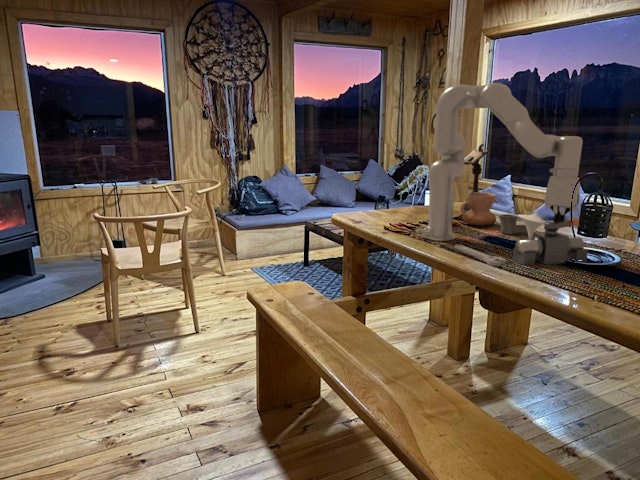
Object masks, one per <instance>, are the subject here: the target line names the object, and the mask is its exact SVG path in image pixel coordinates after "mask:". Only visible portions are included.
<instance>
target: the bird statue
mask: <svg viewBox="0 0 640 480" xmlns="http://www.w3.org/2000/svg"><path fill="white" fill-rule="evenodd" d="M484 145H485V144H484V143H480V144H479V146H478V149H473V150H472V151H471V152H470V153H469V154H468V155H467V156H466V157H465V159H464V165H468V166H469V165H470V164H471V167H472V168H471V170H472V172H471V174H472V175H473V182H472V184H473V186H472V187H473V188H472V190H471V191H470V193H476V192H480V191H479V188H478V187H479V184H480V182H479V180H480V179H479V176H480V175H481V174H482V170H483V168H482V165H481V163H480V160H481V159H482V158H483V157H484V156H486V155H487V154H488V153H489V150H486V149H485V150H484V148H483V147H484ZM466 201H468V200H467V199H466ZM470 210H471V209H470V206H469V205H468V204H465V206H464V212H465V213H467V212H468V211H470Z"/></svg>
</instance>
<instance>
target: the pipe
mask: <svg viewBox="0 0 640 480" xmlns="http://www.w3.org/2000/svg"><path fill="white" fill-rule="evenodd" d="M498 218H499V221H500V233H501V234H503V235H507V236H508V235H528V231H527V228H526V225H525V224H517V219H518V215H515V214H505V213H503V214H499V215H498Z"/></svg>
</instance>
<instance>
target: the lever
mask: <svg viewBox="0 0 640 480" xmlns="http://www.w3.org/2000/svg"><path fill="white" fill-rule="evenodd" d="M571 218H572V222H573V225H572V222H571ZM571 218H570V217H569V218H565V219H564V220H563V221H558V222H554V221H545V224H544V225H543V226H544V230H545V229H546V230H553V231H555V230H557V231H559V229H562V228H575V227H578V226H580V225H579V218H580V217H575V216H574V217H571Z"/></svg>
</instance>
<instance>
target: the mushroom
mask: <svg viewBox="0 0 640 480" xmlns="http://www.w3.org/2000/svg"><path fill="white" fill-rule="evenodd" d="M517 217H519V219H520V221H521V220H522V222H523V223H524V224H523V225H526V228H527V231H528V234H527V235H528V240H530V238H531V237H533V233H535V232H536V230H537V229H538V228H540V227H541V226H544V225H545V222H546V221H545V220H544V219H543V218H542V217H541V216H540V215H539V213H538V212H537V211H536V212H535V213H533V214H517Z"/></svg>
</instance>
